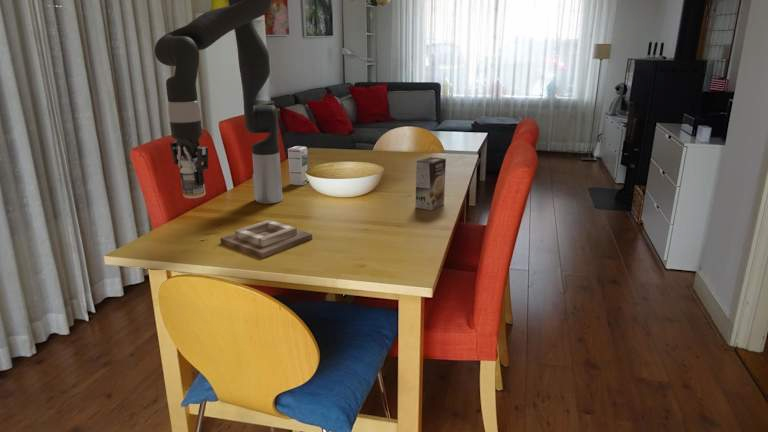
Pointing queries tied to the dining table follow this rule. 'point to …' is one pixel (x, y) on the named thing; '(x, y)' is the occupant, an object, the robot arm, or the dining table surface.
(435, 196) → the coffee box
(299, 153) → the syrup box
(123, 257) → the dining table surface
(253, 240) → the socket block
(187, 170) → the pill bottle
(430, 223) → the dining table surface
